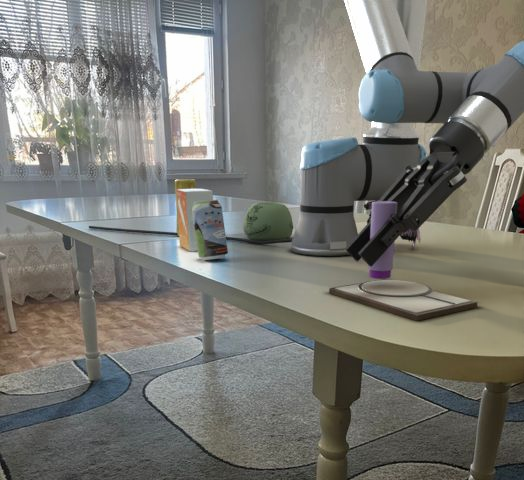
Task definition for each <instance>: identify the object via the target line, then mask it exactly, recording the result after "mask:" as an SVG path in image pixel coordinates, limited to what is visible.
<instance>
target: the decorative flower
mask: <svg viewBox="0 0 524 480" xmlns="http://www.w3.org/2000/svg"><path fill="white" fill-rule="evenodd" d="M376 201H378V200H371V201H368V202H366V203H364V204H363V207H364V211H370V210H371V209H372V202H376ZM370 221H371V213H370V212H369V215H368V218H367V220H366V225H367V224H368V223H369V222H370ZM399 237H400V239H401V240H402V241H403V240H404V241H408V242H412V246H411V250H413V249H414V248H415V246H416V242H417V241H418V243H421V232H420V227H419V228H418V229H417V230H415V231H413V230H412V229H409V230H408V231H407V232H402V233H401V235H400V236H399Z"/></svg>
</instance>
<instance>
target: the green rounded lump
mask: <svg viewBox="0 0 524 480" xmlns="http://www.w3.org/2000/svg"><path fill="white" fill-rule="evenodd" d="M293 230H294V223H293V217H292V214H291V212H290V210H289V208H288V206H286V205H285V204H283V203H281V202H256V203H254V204H251V205H250V206H249V208H248V210H247V211H246V213H245V216H244V219H243V233H244V236H245V237H246V238H247V239H250V240H257V241H271V240H280V239H290V237H291V236H292V235H293Z"/></svg>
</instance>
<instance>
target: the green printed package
mask: <svg viewBox="0 0 524 480" xmlns="http://www.w3.org/2000/svg"><path fill="white" fill-rule="evenodd" d="M192 215H193V222H194V228H195V235H196V242H197V248H198V251H197V254H198V257H199V258H201V259H202V260H203V261H210V260H217V259H223V258H225V257H226V255H227V254H228V253H229V250H228V244H227V240H226V237H227V236H226V235H227V234H226V229H225V228H226V227H225V220H224V214H223V207H222V205H221V203H220V202H219V199H213V200H206V201H199V202H194V206H193V208H192Z"/></svg>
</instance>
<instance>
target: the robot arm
mask: <svg viewBox="0 0 524 480" xmlns="http://www.w3.org/2000/svg"><path fill="white" fill-rule="evenodd" d="M344 3H345V7H346V10H347V14H348V17H349V20H350V23H351V27H352V30H353V34H354V37H355V40H356V44H357V47H358V50H359V54H360V57H361V61H362V64H363V67H364V70H365V74H364V76H363V77H362V79H361V82H360V85H359V89H358V100H359V101H358V102H359V103H358V109H359V112H360V115H361V116H362V117H363V119H364V120H365V121H367V122H371V126H370V127H369V129H368V130H366V131H365V132H364V133H363V136H362V138H363V139H362V143H361V144H360V143H359V141H358V138H357V137H355V136H352V137H351V136H350V137H344V138H343V137H342V138H335V139H327V140H321V141H315V142H310V143H306V144H305V145H304V146H303V147H302V150H301V157H300V165H299V169H300V186H299V187H300V193H299V194H300V195H299V216H298V217H299V218H298V220H297V223H296V227H295V230H294V234H293V236H292V238H287V239H280V240H271V241H261V240H253V239H250V238H242V237H233V236H226V241H233V242H242V243H243V242H244V243H249V244H254V245H255V244H256V245H273V244H283V243H291V244H290V245H291V246H290V247H291V248H290V250H291V251H292V252H293V253H296V254H300V255H304V256H306V255H307V256H316V257H339V256H341V257H342V256H350V257H352V258H353V260H354V261H355V262H357V263H358V262H359V261H360V260H361V259H362V260H363V261H364V262H365V263H366V265H368V266H371V267H372V266H373V264H374V263H375V262H376V261H377V260H378V259H379V258H380V257H381V256H382V254H383V253H384V252H385V251H386V250H387V249H388V248H389V247H390V246H391V244H392V243H393V242H394V241H396V240H397V239H398V238H399V237H400V235H401V233H402V232H407V231H408V230H409V229H412V230H413V231H415V230H417V229H418V228H419V229H420V228H421V227H422V226H423V224H424V223H425V222H427V220H428V219H429V218H430V217H431V216H432V215H433V214H434V213H435V212H436V211H437V210H438V209H439V207H441V205H443V204H444V202H446V200H447V199H448V198H449V197H450V196H451V195H452V194H453V193H454V192H455V191H456V190H458V189H459V188H460V187H462V186H463V185H464V184H465V183H466V182H467V181H468V178H467V177H466V175H468V174H469V173H471V171H472V170H473V169H474V168H475V167H476V166H477V165H478V164H479V162H480V161H481V160H482V159H483V158H484V156H485V154H486V153H488V152H489V151H490V149H492V148H494V147H495V146H496V144H497V142H498V141H499V140H500V139H501V138H502V136H503V135H504V134H506V132H507V131H508V130H509V129H510V127H511V126H512V125H513V124H514V123H515V122H516V121H518V119H519V118H520V117H521V116H522V115H523V114H524V40H522V41H520V42H518V43H516V44H515V45H514V46H513V47H512V48H510V50H509V51H506V52H505V54H504V56H503V57H502V59H501V60H499V62H497V63H494V64H492V65H488V66H486V67H483V68H481V69H478V70H474V71H469V72H462V71H461V72H460V71H459V72H458V71H456V72H455V71H431V70H420V67H421V60H422V51H423V43H424V35H425V34H424V33H425V25H426V23H425V22H426V15H427V8H428V0H344ZM414 124H443V125H441V127H440V128H439V129H438V130H437V131H436V132H435V133H434V135H433V136H432V137H430V140H429V141H428V146H429V153H428V155H427V152H426V148H425V147H424V146H423V145H422V144H420V143H419V138H420V135H419V134H418V132H417V131H416V130H415V129H414ZM426 155H427V156H426ZM376 200H378V201H392V202H397V214H391V215H390V217H391V218H392V220H393V221H394V223H393V222H392V221H391V220H388V221H387V222H386V223H385V224H384V225H383V226H382V227H381V228H380V229H379V231H378V232H377V233H376V234H375V235H374V236H373V237H372V238H371V239H370V231H371V221H370V222H369V223H368V224H367V223H366V225H365V226H364V227H363V228H362V229H361V231H359V233H358V228H357V224H356V219H355V215H354V213H355V212H354V211H355V202H365V201H366V202H367V201H368V202H371V201H376ZM370 213H372V209H369V214H370ZM88 229H92V230H93V229H94V230H102V231H112V232H124V233H136V234H137V233H138V234H151V235H162V236H163V235H165V236H176V237H178V236H177V235H178V233H177V232H174V231H173V232H172V231H160V230H145V229H144V230H143V229H133V228H131V229H130V228H118V227H108V226H107V227H106V226H96V225H88ZM394 243H395V242H394Z"/></svg>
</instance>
